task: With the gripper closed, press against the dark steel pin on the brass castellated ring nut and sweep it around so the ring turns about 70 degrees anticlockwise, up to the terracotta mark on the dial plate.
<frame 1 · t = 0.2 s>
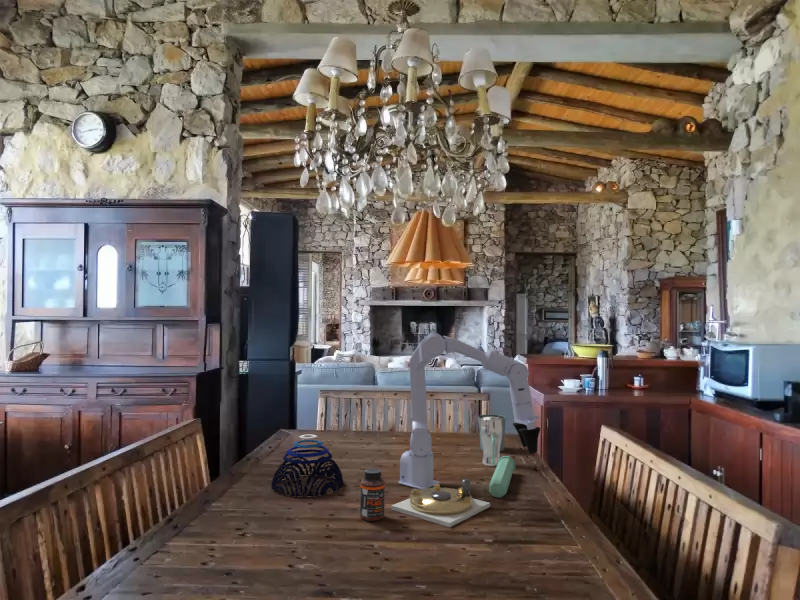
hand: (529, 449, 157), 10 cm above the table, tool pointing down, fingers open, 7 cm apart
ring nut: (441, 491, 139), point 4 cm above the table, hinge at 0.0°
decorative bowl: (308, 487, 157), on the table
supplement bottle: (372, 518, 132), on the table
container: (501, 486, 158), on the table
beer glass: (491, 464, 181), on the table
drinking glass: (491, 449, 200), on the table
dial plate: (441, 508, 139), on the table
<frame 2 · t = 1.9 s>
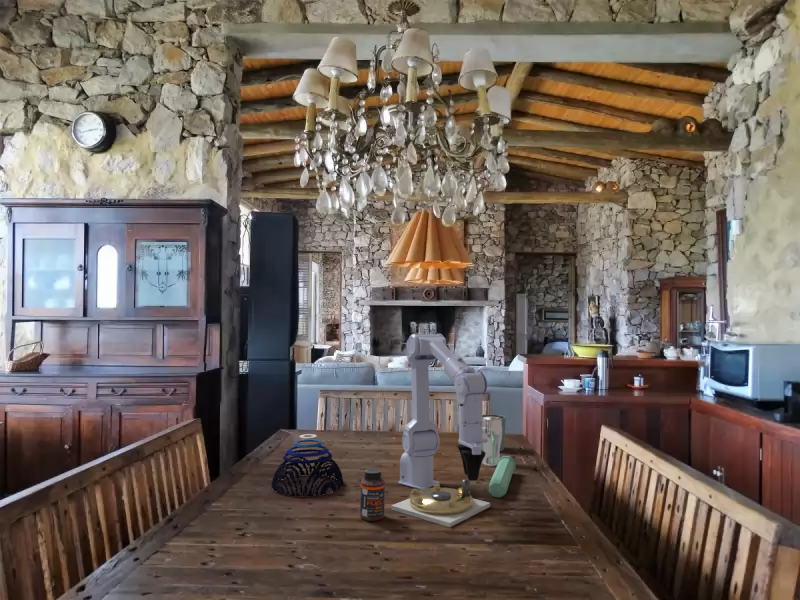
hand: (471, 477, 133), 9 cm above the table, tool pointing down, fingers open, 4 cm apart
nothing on the table moved.
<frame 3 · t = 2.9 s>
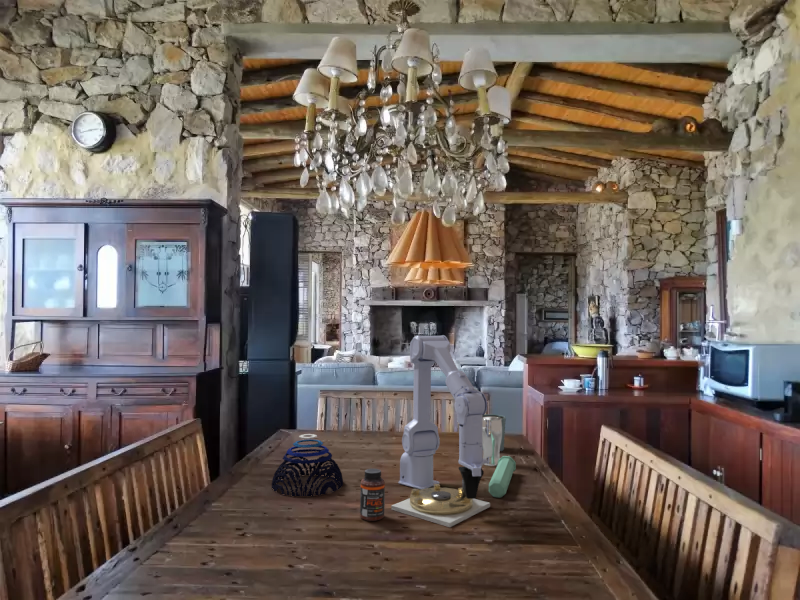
hand: (471, 497, 133), 4 cm above the table, tool pointing down, fingers closed
nothing on the table moved.
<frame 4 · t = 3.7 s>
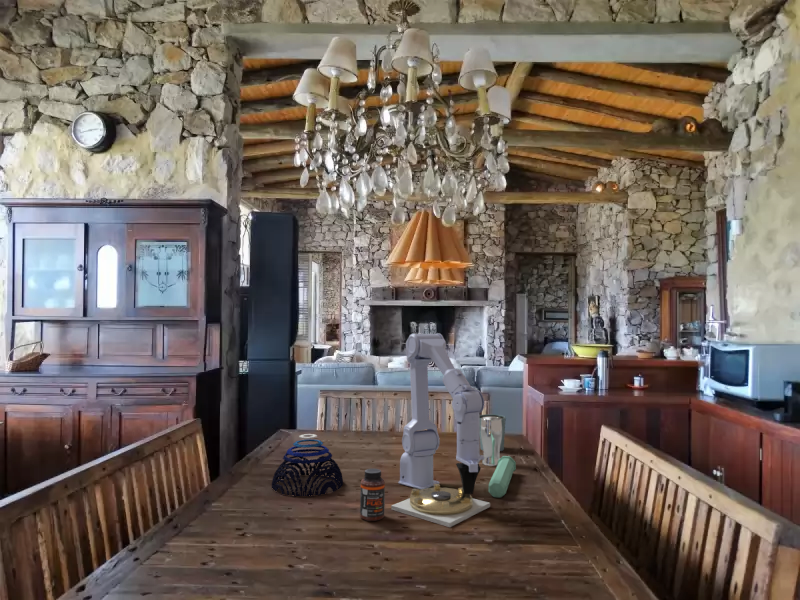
hand: (468, 493, 137), 4 cm above the table, tool pointing down, fingers closed
ring nut: (441, 491, 139), point 4 cm above the table, hinge at 0.0°, touching gripper
everything else where it was.
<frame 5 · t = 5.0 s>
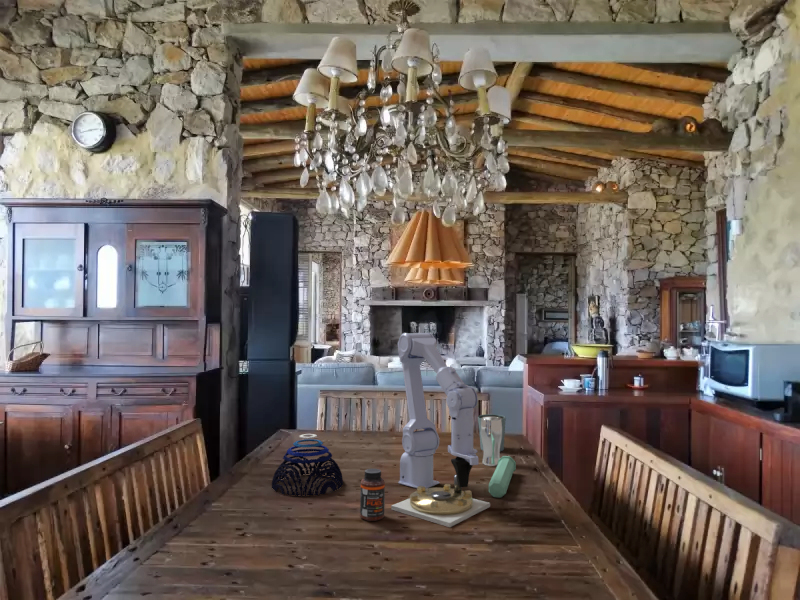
hand: (462, 486, 142), 5 cm above the table, tool pointing down, fingers closed
ring nut: (441, 491, 139), point 4 cm above the table, hinge at 38.1°, touching gripper
everything else where it was.
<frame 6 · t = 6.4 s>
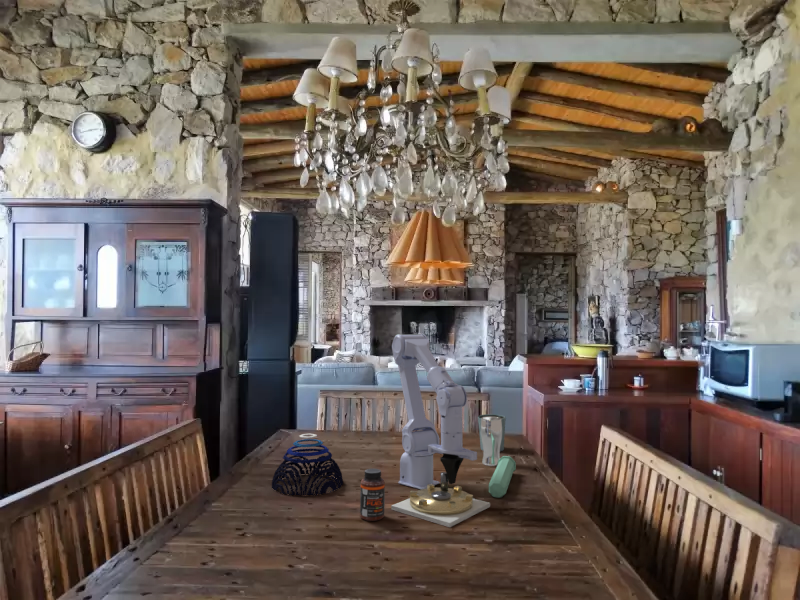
hand: (452, 483, 144), 5 cm above the table, tool pointing down, fingers closed
ring nut: (441, 491, 139), point 4 cm above the table, hinge at 73.3°, touching gripper
everything else where it was.
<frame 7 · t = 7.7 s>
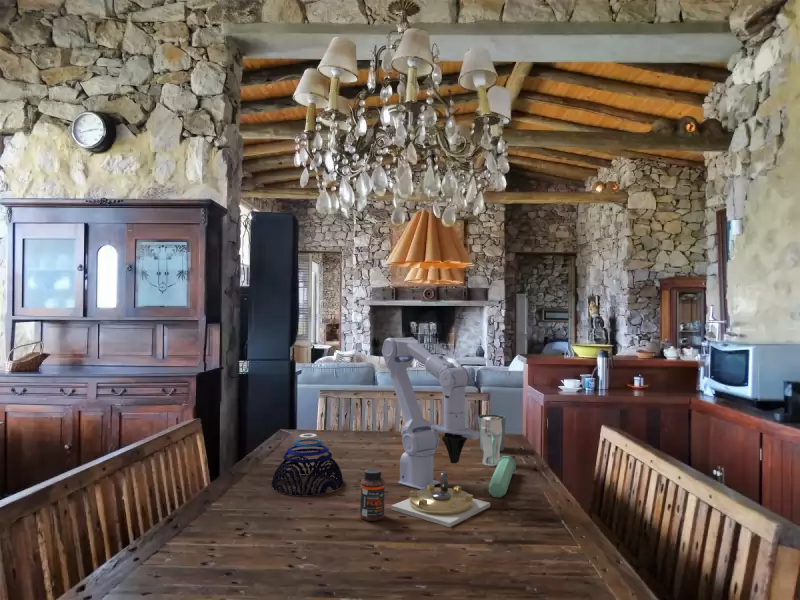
hand: (454, 462, 147), 9 cm above the table, tool pointing down, fingers closed
ring nut: (441, 491, 139), point 4 cm above the table, hinge at 73.6°
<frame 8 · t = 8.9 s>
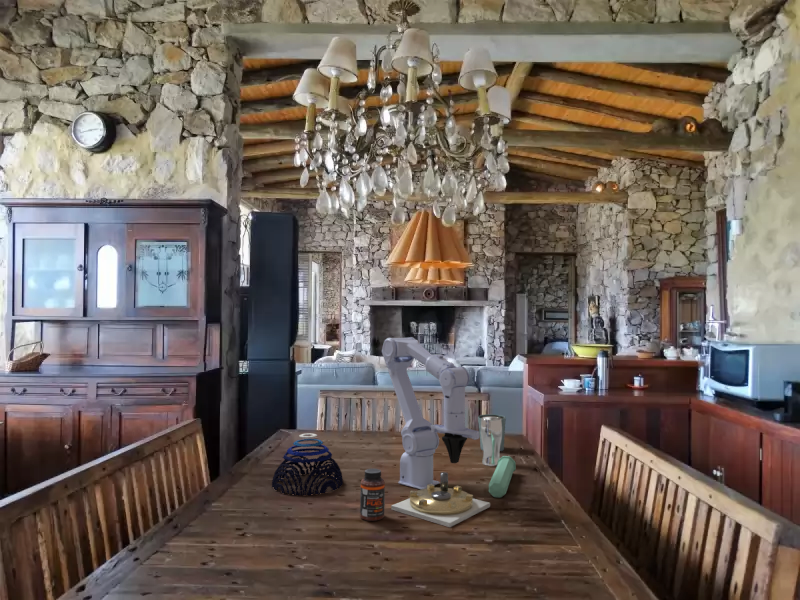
hand: (454, 462, 147), 9 cm above the table, tool pointing down, fingers closed
at the end: ring nut at +74° (first picture: +0°); supplement bottle moved 0.2 cm from its start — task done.
